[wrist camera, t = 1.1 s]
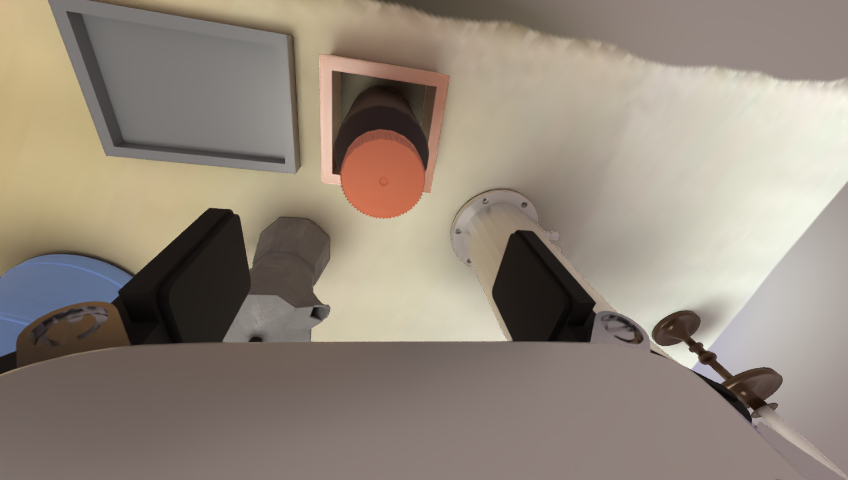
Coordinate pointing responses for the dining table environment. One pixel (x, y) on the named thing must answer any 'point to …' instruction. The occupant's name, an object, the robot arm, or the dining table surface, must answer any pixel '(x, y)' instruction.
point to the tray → (184, 86)
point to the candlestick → (737, 380)
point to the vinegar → (381, 154)
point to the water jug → (52, 290)
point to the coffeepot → (284, 285)
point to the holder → (336, 64)
